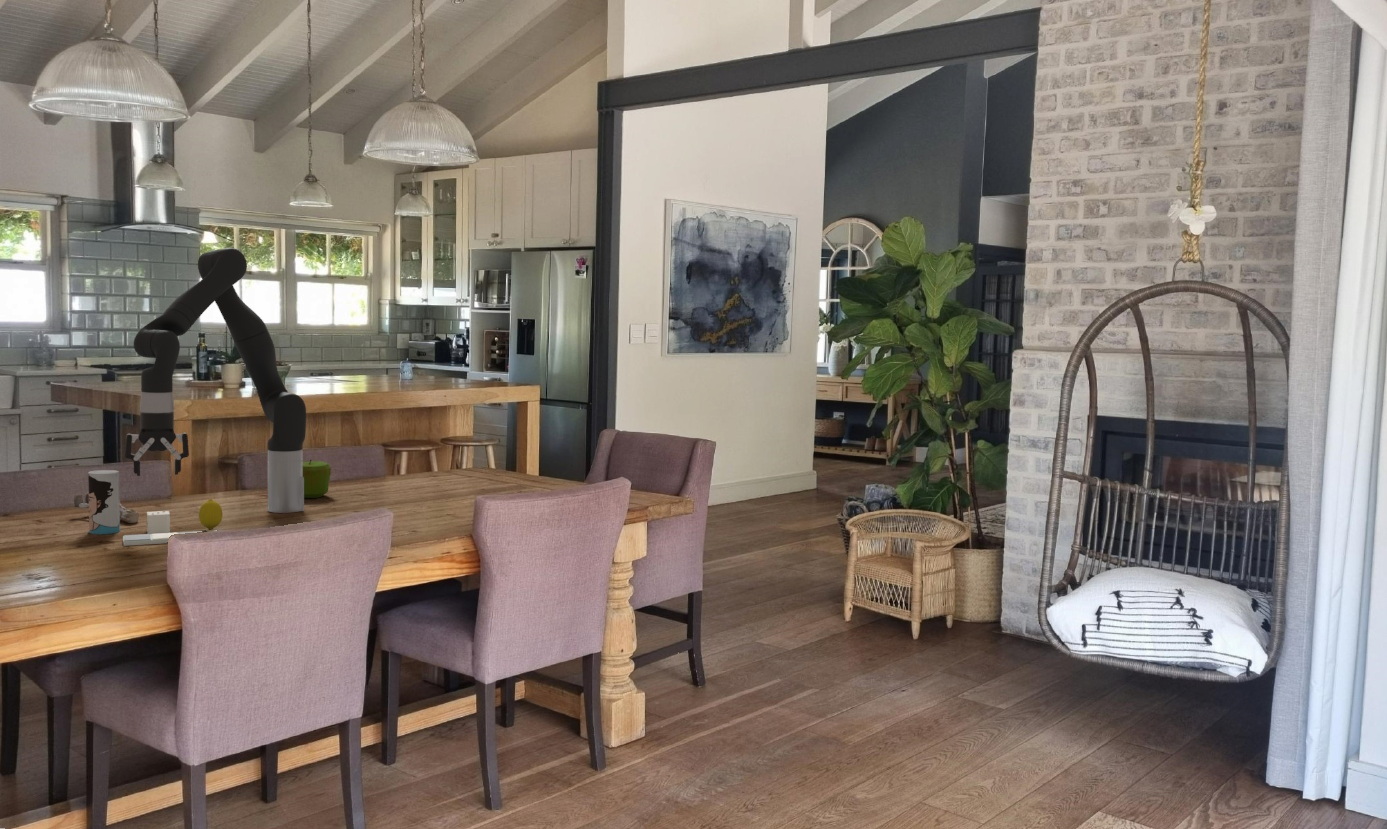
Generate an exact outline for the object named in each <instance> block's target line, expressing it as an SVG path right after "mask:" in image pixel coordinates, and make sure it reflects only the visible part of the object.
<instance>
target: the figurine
mask: <svg viewBox="0 0 1387 829" xmlns="http://www.w3.org/2000/svg"><path fill="white" fill-rule="evenodd" d="M73 498H74V499H73V506H74V507H75V508H82V509H89V491H87V492H86V493H85V494H84V500H83V495H82V494H81V493H76V494H75V495H74V497H73ZM119 517H120V522H125V523H128V524H136V523H138V522H139V519H140V518H139V517H140V513H139V511H137V510H133V509H127V508H126V507H125V506H123V505H122V503H121V502H119Z"/></svg>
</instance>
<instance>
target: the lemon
mask: <svg viewBox="0 0 1387 829" xmlns="http://www.w3.org/2000/svg"><path fill="white" fill-rule="evenodd" d="M223 514H224V513H223V509H222V506H221V505H220V503H219V502H218V501H215V500H213V498H210V499H208V500H206V501H204V502H203V503H202V504H201V505H200V508H199V511H198V519H199V522H200V524H201V525H202V526H203V527H205V528H207V530H208V531H211V530H214V528H216V527H218V526H219V525H220V524H221V523H222V520H223Z"/></svg>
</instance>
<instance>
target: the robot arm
mask: <svg viewBox="0 0 1387 829" xmlns="http://www.w3.org/2000/svg"><path fill="white" fill-rule="evenodd" d="M247 262H248V261H247V260H246V257H245V255H244V254H243V253H242V252H241V251H240V250H239V249H237V248H234V247H223V248H218V249H214V250H209V251H206V252H203V253H202V254H200V255H199V257H198V259H197V268H198V272H199V276H200V278H201V279H200V281H198V282H197V283H196V284H194V285H193V286H192V287H190V288H188V289H187V290H186V291H184V292H183V293H182V294H180V295H179V296H178V297H177V298H176V299H175V300H174V301H173V302H172V303H171V304H170V305H169V306H168V307H167V308H166V310H165V311H164V312H163V313H162V314H161V315H159V316H157V317H156V318H154V319H153V320H152V321H150V322H148V323H147V324H145V325H144V326H143V327H142V328H141V329H140V330H139V331H138V332H137V333H136V335H135V337H134V338H133V349H134V351H135V352H136V354H137V355H138V356H140V357H143V358H150V359H155V360H154V364H153V365H152V367H147V368H145V369H142V371H141V375H140V377H141V382H140V383H141V384H140V385H141V386H140V387H141V388H140V390H141V391H140V392H141V393H140V400H139V401H140V402H139V410H140V411H139V413H140V415H139V416H140V417H139V418H140V419H139V421H140V422H139V425H140V426H139V427H140V428H139V429H140V431H139V433H138V434H134V433H133V434H132V433H127V434H126V436H125V437H126V438H125V456H124V457H125V459H128V460H132V461H133V473H134V474H136V477H140V476H141V460H140V459H141V457H142V456H143V455H144V454H145V453H146V452H147V450H148V451H150V452H156V451H159V452H165V451H168V452H170V454H171V455H172V456H173V457H174V475H175V476H177V475H179V473H181V471H182V460H183V459H184V458H185V459H186V458H189V456H190V451H189V438H188V434H187V432H182V433H175V424H174V423H175V422H174V421H175V416H174V415H175V414H174V413H175V412H174V411H175V406H174V405H175V404H174V403H175V401H174V395H173V393H174V392H173V391H174V388H173V383H174V382H173V375H174V372H175V369H176V366H177V361H178V359H179V354H180V351H181V350H180V348H181V345H180V344H181V343H180V340H179V337H180V336H183V335H185V334H186V333H187V332H188V331H189V330H190V329H191V328H192V327H193V325H194V324H195V323H196V322H197V320H198V319H199V318H200V317H201V316H202V315H203V313H204V312H205V311H206V310H207V309H208V308H209V307H210V306H211V305H212V304H213V303H214V302H215V304H216V306H217V308H218V310H219V312H220V314H221V316H222V318H223V320H224V322H225V325H226V326H227V328H228V330H229V334H230V335H231V338H232V341H233V343H234V345H235V347H236V349H237V351H238V354H239V355H240V357H241V359H242V361H243V362H242V363H244V367H245V369H247V372H248V374H249V377H250V379H251V380H252V383H253V386H254V387H255V389H256V393H257V395H258V396H257V397H258V399H259V402H260V405H261V409H262V412H263V414H264V416H265V418H267V420H269V421H270V422H271V423H273V428H272V435H271V437H270V438H269V439H268V440H267V511H268V512H269V513H277V514H278V513H282V514H285V513H286V514H287V513H288V514H289V513H296V512H304V511H305V509H304V508H305V498H304V477H303V462H304V461H303V460H304V458H303V453H304V452H303V451H304V450H303V448H304V446H303V445H304V442H305V440H306V434H307V432H306V431H307V430H306V429H307V408H306V403H305V401H304V400H303V398H302V397H301V396H299V395H298V394H295V393H292V392H288V390H287V389H286V386H285V385H284V383H283V380H282V378H281V376H280V374H279V371H278V368H277V354H276V348H275V344H274V342H273V339H272V337H271V334H270V332H269V330H268V327H267V326H266V323H265V322H264V320H263V319H262V318H261V317H260V316H259V315H258V314H257V313H256V312H255V311H254V310H253V309H252V308H251V307H249V306H248V305H247V304H246V303H245V302H244V301H243V300H242V299H241V297H240V296H239V295H238V293H237V291H236V289H235V287H234V285H235V284H236V283H238V282H239V281H240V280H241V279H243V277H244V276H245V275H246V273H247V269H248V266H247V264H248V263H247ZM176 439H178V441H179V442H180V443H182V452H180V453H179V452H178V450H176V448H175V447H174V446H173V443H174V442H175V441H176ZM136 440H139V441H140V443H141V446H140V447H139V449H138V450H137V451H136V453H135V454H134V453H132V444H135V442H136Z"/></svg>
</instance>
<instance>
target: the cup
mask: <svg viewBox="0 0 1387 829" xmlns="http://www.w3.org/2000/svg"><path fill="white" fill-rule="evenodd" d="M87 473H88V479H87V480H88V492H89V508H88V524H89V525H88V527H89V529H88V533H89V534H92V535H108V534H109V535H110V534H116V533H119V532H120V531H121V530H120V528H121V524H120V523H121V519H120V517H119V503H120V471H119V470H115V469H99V470H98V469H97V470H91V471H88V472H87Z"/></svg>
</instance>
